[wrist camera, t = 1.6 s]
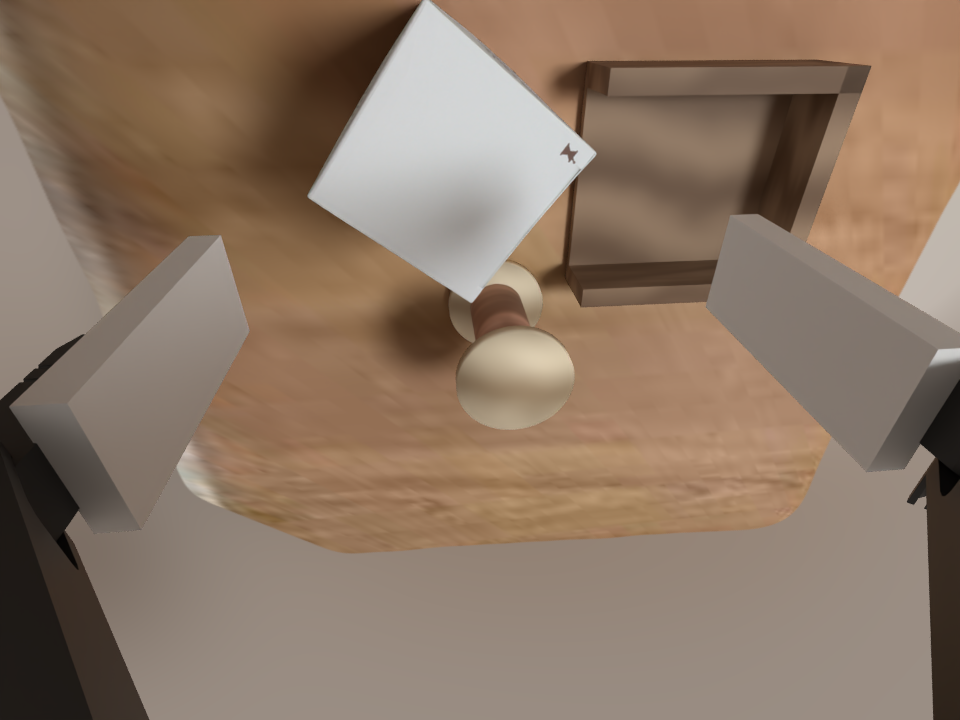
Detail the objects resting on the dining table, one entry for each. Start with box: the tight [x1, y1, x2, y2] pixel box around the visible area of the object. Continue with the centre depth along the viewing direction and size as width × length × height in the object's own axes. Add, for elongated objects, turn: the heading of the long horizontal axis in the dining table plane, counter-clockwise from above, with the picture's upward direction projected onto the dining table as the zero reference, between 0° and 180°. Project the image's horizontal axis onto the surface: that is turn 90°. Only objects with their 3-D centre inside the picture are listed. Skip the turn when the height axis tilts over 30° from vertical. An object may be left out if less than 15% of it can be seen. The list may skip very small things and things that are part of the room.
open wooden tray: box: [565, 60, 871, 307], centre depth 38 cm, size 16×16×5 cm
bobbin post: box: [449, 260, 575, 430], centre depth 39 cm, size 8×8×12 cm
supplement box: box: [308, 0, 596, 303], centre depth 29 cm, size 10×9×17 cm
